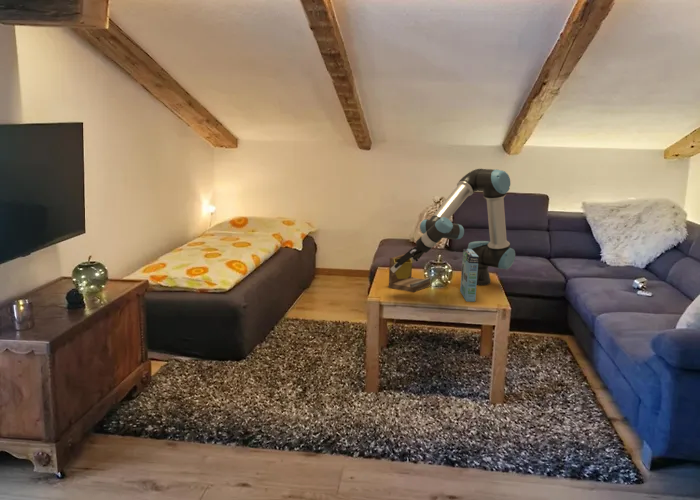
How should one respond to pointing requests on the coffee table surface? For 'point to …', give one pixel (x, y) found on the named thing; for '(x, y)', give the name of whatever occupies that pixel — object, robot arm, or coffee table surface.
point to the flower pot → (404, 269)
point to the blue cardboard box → (469, 275)
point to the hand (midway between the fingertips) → (398, 268)
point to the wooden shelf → (406, 280)
